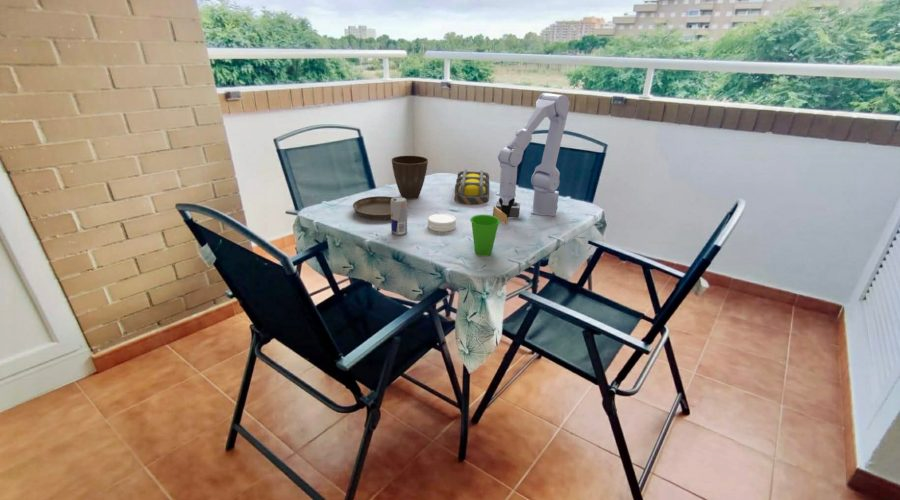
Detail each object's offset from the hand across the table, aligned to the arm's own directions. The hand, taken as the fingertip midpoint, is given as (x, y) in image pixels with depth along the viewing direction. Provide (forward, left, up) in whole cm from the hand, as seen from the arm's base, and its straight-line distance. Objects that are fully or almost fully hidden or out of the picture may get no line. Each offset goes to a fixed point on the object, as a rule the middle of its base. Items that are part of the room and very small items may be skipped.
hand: (505, 217), depth 160 cm
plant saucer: (+48, +2, -2) cm, 48 cm away
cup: (+5, +29, -2) cm, 30 cm away
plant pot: (+42, -19, -2) cm, 46 cm away
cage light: (+17, -30, -2) cm, 34 cm away
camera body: (0, -7, -1) cm, 7 cm away
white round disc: (+22, +11, -2) cm, 25 cm away
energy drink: (+35, +20, -2) cm, 40 cm away
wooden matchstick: (+2, 0, -1) cm, 2 cm away
